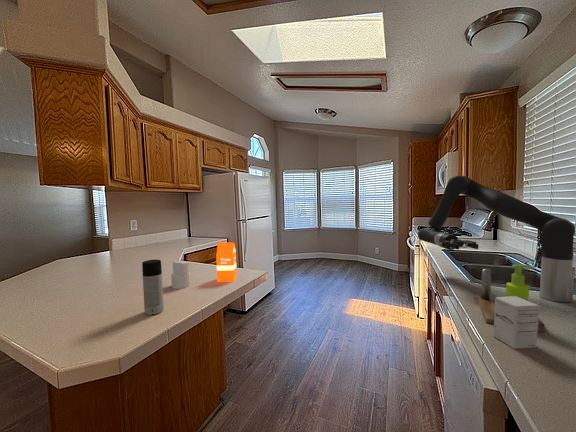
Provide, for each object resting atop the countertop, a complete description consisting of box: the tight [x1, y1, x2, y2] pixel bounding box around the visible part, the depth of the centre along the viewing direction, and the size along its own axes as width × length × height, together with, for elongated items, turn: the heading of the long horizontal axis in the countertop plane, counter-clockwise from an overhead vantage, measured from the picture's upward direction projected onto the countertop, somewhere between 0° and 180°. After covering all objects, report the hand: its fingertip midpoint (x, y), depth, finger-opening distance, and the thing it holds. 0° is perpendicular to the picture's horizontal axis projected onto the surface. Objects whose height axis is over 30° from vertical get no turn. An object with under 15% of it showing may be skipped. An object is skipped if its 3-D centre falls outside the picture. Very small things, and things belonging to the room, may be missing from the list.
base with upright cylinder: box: [476, 268, 545, 333], centre depth 102 cm, size 15×25×14 cm, turn 152°
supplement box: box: [493, 296, 540, 350], centre depth 82 cm, size 7×7×13 cm
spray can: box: [141, 259, 164, 316], centre depth 107 cm, size 7×7×20 cm
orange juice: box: [215, 242, 238, 283], centre depth 147 cm, size 8×9×20 cm
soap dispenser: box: [505, 263, 535, 301], centre depth 94 cm, size 6×7×20 cm
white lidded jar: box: [170, 260, 192, 290], centre depth 138 cm, size 9×9×12 cm
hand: (468, 247), depth 122 cm, fingers open, 8 cm apart
